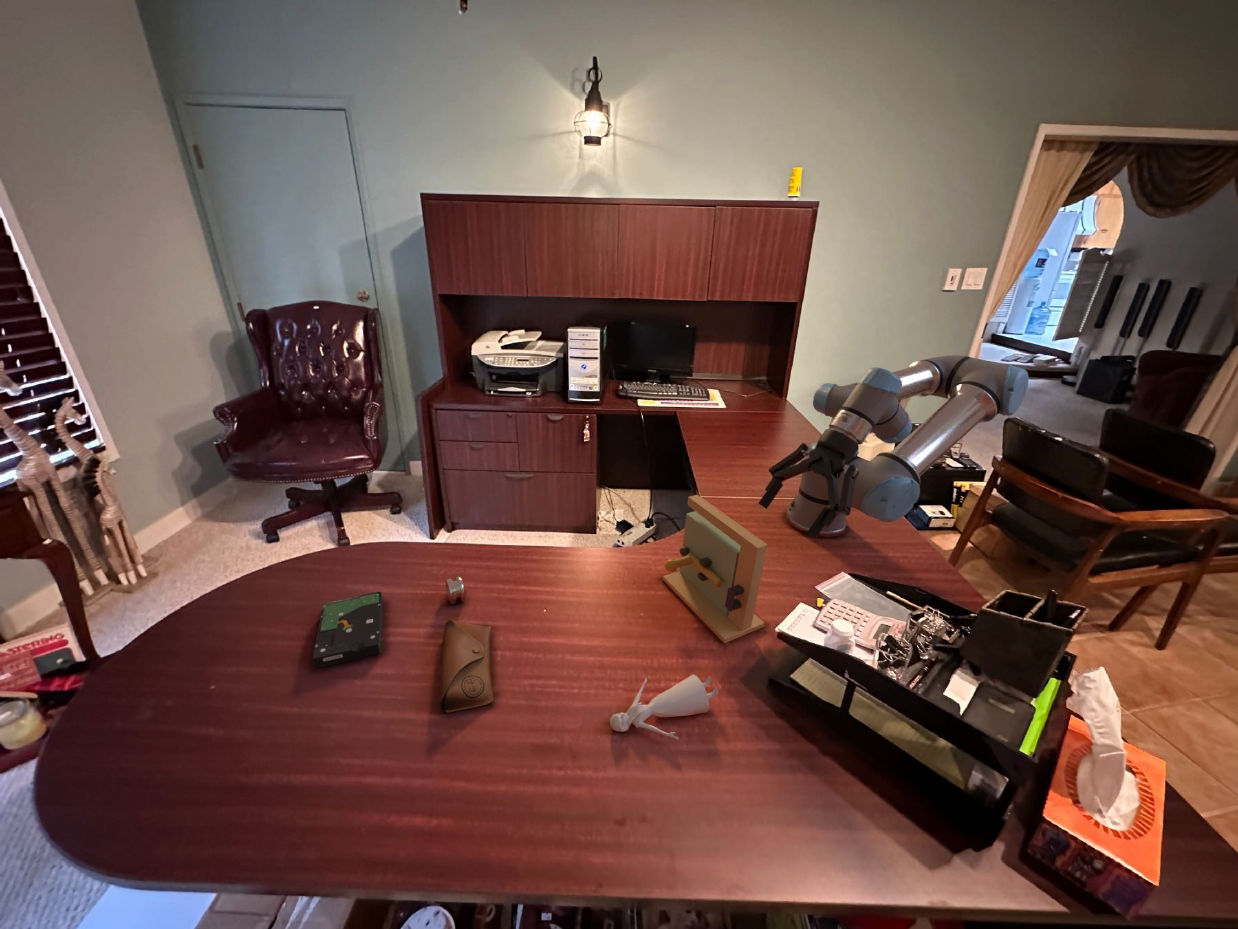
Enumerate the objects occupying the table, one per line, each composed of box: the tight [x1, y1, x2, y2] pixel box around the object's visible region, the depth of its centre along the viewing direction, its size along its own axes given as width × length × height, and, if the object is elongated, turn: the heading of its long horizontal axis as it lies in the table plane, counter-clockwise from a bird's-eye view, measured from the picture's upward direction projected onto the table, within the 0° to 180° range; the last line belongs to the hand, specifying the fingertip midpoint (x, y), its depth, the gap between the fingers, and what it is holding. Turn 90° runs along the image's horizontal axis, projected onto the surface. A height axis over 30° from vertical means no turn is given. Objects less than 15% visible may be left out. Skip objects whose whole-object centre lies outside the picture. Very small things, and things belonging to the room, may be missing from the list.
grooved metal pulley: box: [445, 575, 467, 605], centre depth 99 cm, size 5×3×5 cm, turn 29°
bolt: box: [664, 553, 723, 587], centre depth 99 cm, size 7×10×3 cm
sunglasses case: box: [439, 618, 495, 714], centre depth 84 cm, size 18×7×7 cm, turn 16°
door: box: [662, 494, 768, 644], centre depth 99 cm, size 10×21×20 cm, turn 29°
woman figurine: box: [609, 673, 719, 740], centre depth 77 cm, size 12×4×18 cm
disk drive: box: [312, 591, 384, 669], centre depth 90 cm, size 10×3×15 cm
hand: (785, 520), depth 104 cm, fingers open, 13 cm apart
